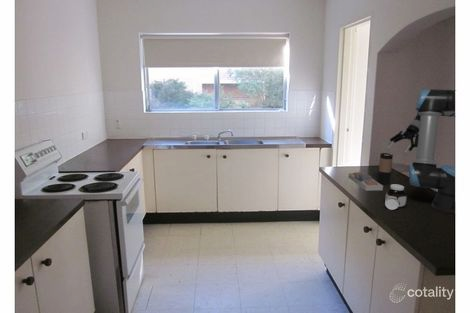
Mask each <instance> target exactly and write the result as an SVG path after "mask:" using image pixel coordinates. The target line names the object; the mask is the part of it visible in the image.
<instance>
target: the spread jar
mask: <svg viewBox="0 0 470 313" xmlns="http://www.w3.org/2000/svg"><path fill="white" fill-rule="evenodd" d="M384 198H385V201H384V205H385V207H386V208H387V209H388V210H391V211H392V210H396V209H402V208H403V207H405V205H406V204H407V198H408V197H407V192H406V191H405V186H403V185H401V184H396V183H395V184H394V183H392V184H390V186H389V188H388V189H387V190H386V193H385V197H384Z"/></svg>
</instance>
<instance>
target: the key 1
mask: <svg viewBox="0 0 470 313" xmlns="http://www.w3.org/2000/svg"><path fill="white" fill-rule="evenodd" d="M363 173H364V172H353V175H355V176H356V177H359V174H363Z"/></svg>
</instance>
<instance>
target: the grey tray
mask: <svg viewBox="0 0 470 313" xmlns="http://www.w3.org/2000/svg"><path fill="white" fill-rule="evenodd" d="M353 173H354V172H353ZM353 173H352V172H349V173H348V174H347V175H348V177H347V178H348V179H349V180H351V181H352V182H354V183H355V184H356V185H358V186H359V188H362V190H364V191H365V190H366V191H367V192H368V191H370V192H371V191H383V190H384V189H383V188H384V185H382V184H380V183H378V180H377V181H376V180H375V179H374V178H371V180H374V181H375V182H377V183H378V185H367V184H366V183H364V181H362V180H361V179H359V177H356V176H355V175H353ZM362 173H363V174H365V173H364V172H362Z"/></svg>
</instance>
